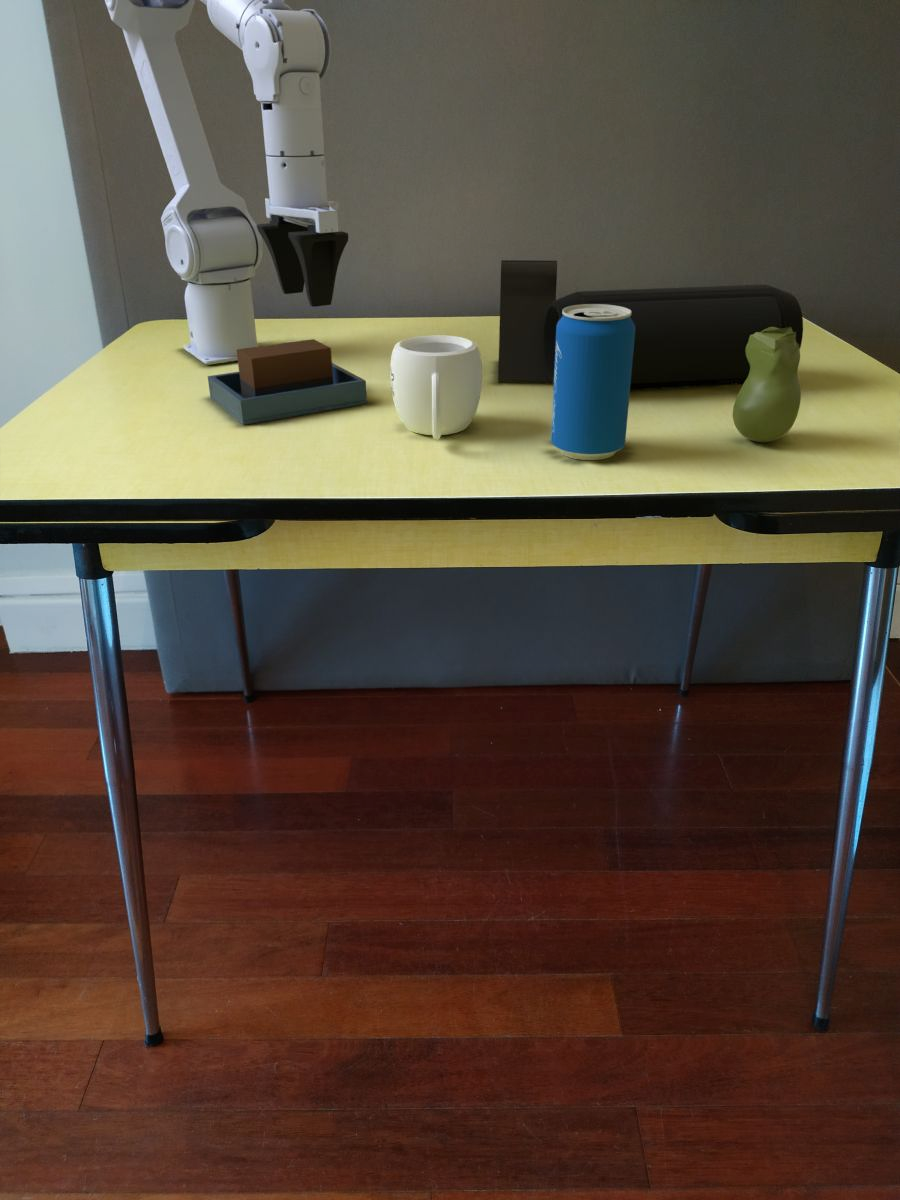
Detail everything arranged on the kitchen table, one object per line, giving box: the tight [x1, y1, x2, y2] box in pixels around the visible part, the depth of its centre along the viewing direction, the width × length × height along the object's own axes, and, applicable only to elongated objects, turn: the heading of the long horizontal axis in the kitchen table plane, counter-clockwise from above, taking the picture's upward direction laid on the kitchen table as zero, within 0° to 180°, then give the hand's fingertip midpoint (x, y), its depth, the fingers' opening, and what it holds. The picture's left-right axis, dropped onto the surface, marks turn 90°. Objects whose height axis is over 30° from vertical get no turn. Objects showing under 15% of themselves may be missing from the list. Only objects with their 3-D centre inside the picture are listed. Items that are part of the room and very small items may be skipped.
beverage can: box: [550, 304, 635, 461], centre depth 77 cm, size 6×6×12 cm
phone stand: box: [497, 259, 558, 385], centre depth 100 cm, size 9×6×12 cm, turn 175°
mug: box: [389, 334, 483, 441], centre depth 83 cm, size 12×8×8 cm
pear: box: [732, 327, 802, 443], centre depth 80 cm, size 6×5×10 cm
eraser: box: [237, 338, 333, 398], centre depth 93 cm, size 4×8×5 cm, turn 121°
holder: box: [207, 362, 368, 426], centre depth 93 cm, size 10×13×2 cm
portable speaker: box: [543, 284, 804, 391], centre depth 96 cm, size 26×10×10 cm, turn 99°
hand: (306, 298), depth 96 cm, fingers open, 7 cm apart
